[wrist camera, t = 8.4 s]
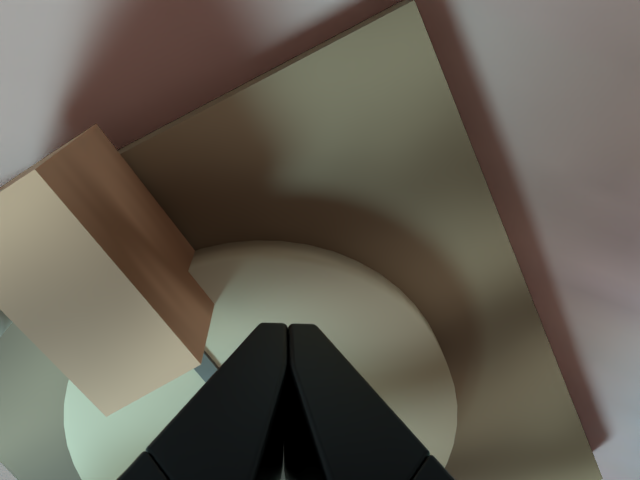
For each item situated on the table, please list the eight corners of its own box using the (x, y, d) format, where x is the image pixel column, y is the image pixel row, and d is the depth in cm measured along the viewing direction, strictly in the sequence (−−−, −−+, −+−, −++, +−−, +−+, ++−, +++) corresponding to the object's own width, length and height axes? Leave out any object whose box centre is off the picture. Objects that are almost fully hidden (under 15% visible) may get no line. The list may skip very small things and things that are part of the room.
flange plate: (504, 445, 22) (552, 548, 18) (220, 580, 24) (207, 698, 20) (244, 25, 16) (228, 40, 12) (-112, 260, 18) (-228, 342, 14)
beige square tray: (588, 456, 25) (674, 591, 19) (181, 615, 27) (154, 773, 22) (406, -2, 17) (462, 6, 12) (-134, 282, 20) (-295, 397, 14)
